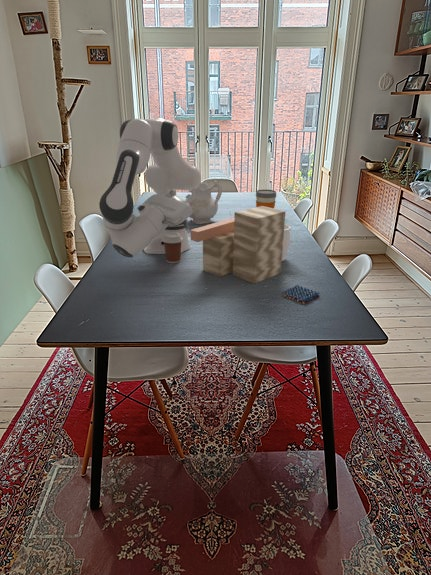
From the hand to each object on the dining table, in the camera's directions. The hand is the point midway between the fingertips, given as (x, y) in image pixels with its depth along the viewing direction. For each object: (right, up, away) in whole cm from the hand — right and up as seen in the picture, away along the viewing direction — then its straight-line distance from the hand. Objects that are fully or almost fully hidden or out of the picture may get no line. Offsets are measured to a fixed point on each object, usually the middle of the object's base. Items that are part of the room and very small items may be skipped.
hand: (182, 193), depth 138 cm
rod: (+13, -10, +25) cm, 30 cm away
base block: (+14, -25, +32) cm, 43 cm away
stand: (+28, -27, +28) cm, 48 cm away
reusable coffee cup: (+42, +12, +113) cm, 121 cm away
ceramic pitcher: (+4, +6, +100) cm, 100 cm away
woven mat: (+42, -36, +10) cm, 57 cm away
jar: (+39, -19, +44) cm, 62 cm away
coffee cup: (-7, -20, +42) cm, 47 cm away
